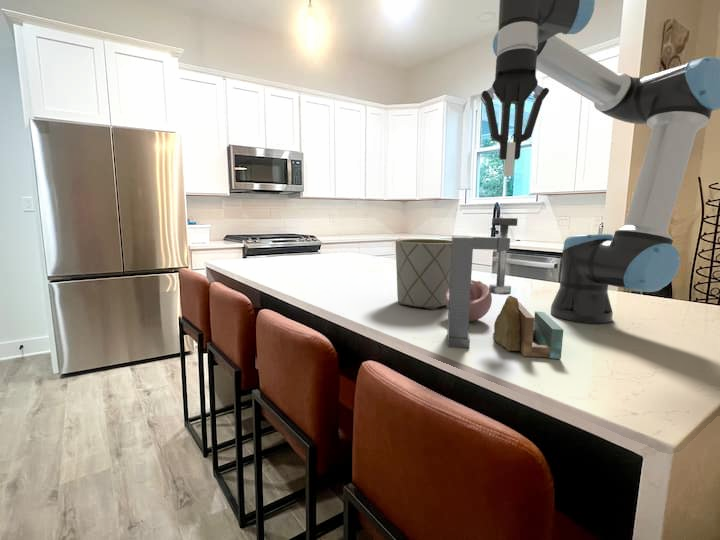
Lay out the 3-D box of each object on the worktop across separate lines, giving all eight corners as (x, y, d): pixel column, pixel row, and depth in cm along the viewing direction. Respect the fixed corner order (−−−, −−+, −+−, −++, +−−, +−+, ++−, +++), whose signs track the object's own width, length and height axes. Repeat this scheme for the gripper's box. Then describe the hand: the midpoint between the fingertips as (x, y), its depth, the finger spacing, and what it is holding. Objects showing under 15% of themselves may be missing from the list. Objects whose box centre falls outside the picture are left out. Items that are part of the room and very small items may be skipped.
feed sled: (542, 336, 89) (544, 303, 88) (560, 359, 75) (564, 319, 74) (510, 334, 90) (512, 301, 89) (523, 355, 77) (526, 317, 76)
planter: (441, 314, 109) (444, 244, 106) (383, 305, 119) (384, 241, 116) (463, 301, 124) (466, 240, 121) (410, 294, 135) (411, 238, 132)
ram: (509, 290, 85) (515, 218, 82) (514, 295, 80) (519, 218, 77) (486, 289, 86) (490, 217, 83) (489, 294, 81) (494, 218, 78)
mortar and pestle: (435, 320, 103) (437, 278, 101) (457, 312, 111) (459, 273, 110) (477, 329, 94) (480, 284, 93) (497, 320, 103) (500, 278, 101)
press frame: (497, 337, 89) (504, 236, 85) (504, 351, 80) (512, 239, 76) (447, 334, 91) (451, 235, 87) (448, 346, 82) (453, 237, 79)
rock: (532, 343, 76) (541, 320, 83) (499, 312, 77) (512, 292, 84) (494, 368, 82) (506, 344, 90) (465, 338, 84) (479, 318, 91)
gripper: (546, 59, 78) (537, 177, 82) (480, 63, 81) (473, 177, 84) (557, 43, 71) (546, 173, 74) (484, 48, 73) (477, 174, 77)
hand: (508, 175), depth 79 cm, fingers closed
